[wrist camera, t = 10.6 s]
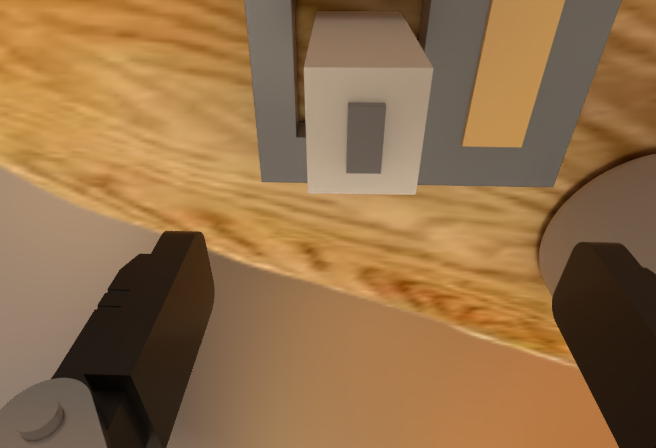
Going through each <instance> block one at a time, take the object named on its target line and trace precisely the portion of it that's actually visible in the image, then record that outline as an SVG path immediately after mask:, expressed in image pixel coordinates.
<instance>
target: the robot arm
mask: <svg viewBox="0 0 656 448" xmlns="http://www.w3.org/2000/svg"><path fill="white" fill-rule="evenodd" d="M213 303H214V281H213V276H212V272H211V267H210V262H209V257H208V252H207V247H206V243H205V238H204V236H203V234H202V233H201V232H192V231H165V232H164V233H163V234H162V235H161V237H160V239H159V241H158V242H157V244H156V246H155V247H154V249H153V251H152V253H151V254H139V255H137V256H136V257H135V258H134V259H132V260H131V261H130V262H129V263H128V264H126V265H125V266H124V267H123V268H121V269H120V270H119V272H118V274H117V275H116V277H115V278H114V280H113V282H112V283H111V285H110V286H109V288H108V292H107V293H105V294H104V296H103V297H102V299H101V301H100V302H99V304H98V308H97V310H94V312H93V313H92V315H91V317H90V318H89V320H88V322H87V323H86V325H85V326H84V328H83V329H82V331H81V333H80V334H79V336H78V337H77V339H76V341H75V342H74V344H73V345H72V347H71V349H70V350H69V352H68V354H67V355H66V357H65V358H64V360H63V361H62V363H61V365H60V366H59V368H58V369H57V371H56V373H55V374H54V375H53V377H52V378H51V379H50V380H46V381H43V382H40V383H38V384H35V385H33V386H31V387H29V388H27V389H25V390H24V391H22V392H21V393H19V394H18V395H16V396H15V397H14V398H12V399H11V400H10V401H9V402H8V403H7V404H6V405H5V406H4V407H3V408H2V409H1V410H0V448H166V447H167V444H168V441H169V438H170V435H171V432H172V429H173V426H174V423H175V420H176V417H177V414H178V411H179V408H180V405H181V402H182V399H183V396H184V393H185V390H186V387H187V384H188V381H189V378H190V375H191V372H192V369H193V366H194V363H195V360H196V357H197V354H198V350H199V348H200V345H201V342H202V339H203V336H204V333H205V330H206V327H207V324H208V321H209V318H210V315H211V311H212V308H213ZM552 311H553V316H554V319H555V322H556V324H557V326H558V328H559V330H560V332H561V334H562V336H563V338H564V340H565V341H566V343H567V345H568V347H569V349H570V351H571V353H572V355H573V357H574V359H575V361H576V363H577V365H578V367H579V369H580V371H581V373H582V375H583V377H584V379H585V381H586V383H587V385H588V387H589V389H590V391H591V393H592V395H593V397H594V399H595V401H596V403H597V405H598V406H599V409H600V411H601V413H602V414H603V417H604V418H605V420H606V422H607V424H608V426H609V428H610V430H611V432H612V434H613V436H614V438H615V440H616V442H617V444H618V446H619V448H656V274H655V273H654V272H652V271H651V270H649V269H648V268H643V267H642V266H641V265H640V264H639V262H638V261H637V260H636V259H635V258H634V256H633V255H632V254H631V253H630V252H629V250H628V249H627V248H626V247H625V246H624V245H622V244H620V243H610V242H579V243H578V244H576V245H575V247H574V248H573V250H572V252H571V254H570V257H569V259H568V261H567V264H566V266H565V268H564V270H563V273H562V275H561V277H560V280H559V282H558V284H557V287H556V289H555V291H554V294H553V298H552Z"/></svg>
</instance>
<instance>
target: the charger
mask: <svg viewBox="0 0 656 448" xmlns="http://www.w3.org/2000/svg"><path fill="white" fill-rule="evenodd" d="M432 75H433V66H432V65H431V63H430V61H429V59H428V58H427V56H426V54H425V53H424V51H423V49H422V47H421V46H420V44H419V42H418V41H417V39H416V37H415V35H414V34H413V32H412V30H411V29H410V27H409V25H408V23H407V22H406V20H405V18H404V16H403V15H402V13H401V11H316V15H315V20H314V24H313V28H312V33H311V37H310V42H309V46H308V50H307V55H306V59H305V64H304V92H305V121H306V151H307V180H308V194H397V195H416V190H417V183H418V175H419V168H420V161H421V154H422V147H423V140H424V132H425V125H426V118H427V111H428V104H429V97H430V90H431V82H432Z"/></svg>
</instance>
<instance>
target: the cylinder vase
mask: <svg viewBox="0 0 656 448" xmlns="http://www.w3.org/2000/svg"><path fill="white" fill-rule="evenodd" d="M579 242H610V243H620V244H622V245H624V246H625V247H626V248H627V249H628V250H629V252H630V253H631V254H632V255H633V256H634V258H635V259H636V260H637V261H638V262H639V264H640V265H641V266H642V267H643V268H648V269H649V270H651V271H652V272H654V273H655V274H656V154H651V155H647V156H643V157H640V158H637V159H634V160H631V161H628V162H625V163H623V164H621V165H618V166H616V167H614V168H612V169H610V170H608V171H606V172H604V173H602V174H601V175H599V176H597V177H596V178H594V179H593V180H591V181H590V182H588V183H587V184H585V185H584V186H583V187H581V188H580V189H579V190H578V191H576V192H575V193H574V194H573V195H572V196H571V197H570V198H569V199H568V200H567V201H566V202H565V203H564V204H563V205H562V206H561V207H560V208H559V210H558V211H557V212H556V214H555V215H554V216H553V218H552V219H551V221H550V223H549V224H548V226H547V228H546V230H545V232H544V235H543V237H542V241H541V244H540V249H539V267H540V272H541V275H542V278H543V280H544V282H545V284H546V286H547V287H548V289H549V291H550V293H551V295H552V297H553V294H554V291H555V289H556V287H557V284H558V282H559V280H560V277H561V275H562V273H563V270H564V268H565V266H566V264H567V261H568V259H569V257H570V254H571V252H572V250H573V248H574V247H575V245H576V244H578V243H579Z"/></svg>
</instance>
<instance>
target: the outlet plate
mask: <svg viewBox="0 0 656 448" xmlns="http://www.w3.org/2000/svg"><path fill="white" fill-rule="evenodd" d="M621 1H622V0H423V6H422V14H421V22H420V30H419V38H418V42H419V44H420V46H421V47H422V49H423V51H424V53H425V54H426V56H427V58H428V59H429V61H430V63H431V65H432V66H433V75H432V82H431V90H430V97H429V104H428V111H427V118H426V125H425V132H424V140H423V147H422V154H421V161H420V168H419V175H418V183H417V185H452V186H507V187H553V186H554V183H555V181H556V178H557V175H558V172H559V170H560V167H561V164H562V162H563V159H564V156H565V153H566V151H567V148H568V145H569V142H570V140H571V137H572V134H573V132H574V129H575V126H576V123H577V121H578V118H579V115H580V112H581V110H582V107H583V104H584V102H585V99H586V96H587V93H588V91H589V88H590V85H591V83H592V80H593V77H594V74H595V72H596V69H597V66H598V63H599V61H600V58H601V55H602V53H603V50H604V47H605V44H606V42H607V39H608V36H609V33H610V31H611V28H612V25H613V23H614V20H615V17H616V14H617V12H618V9H619V6H620V3H621ZM245 10H246V20H247V31H248V41H249V52H250V63H251V73H252V84H253V94H254V105H255V115H256V126H257V137H258V147H259V158H260V168H261V179H262V182H289V183H308V180H307V151H306V122H299V102H298V71H297V41H296V10H295V0H245Z"/></svg>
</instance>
